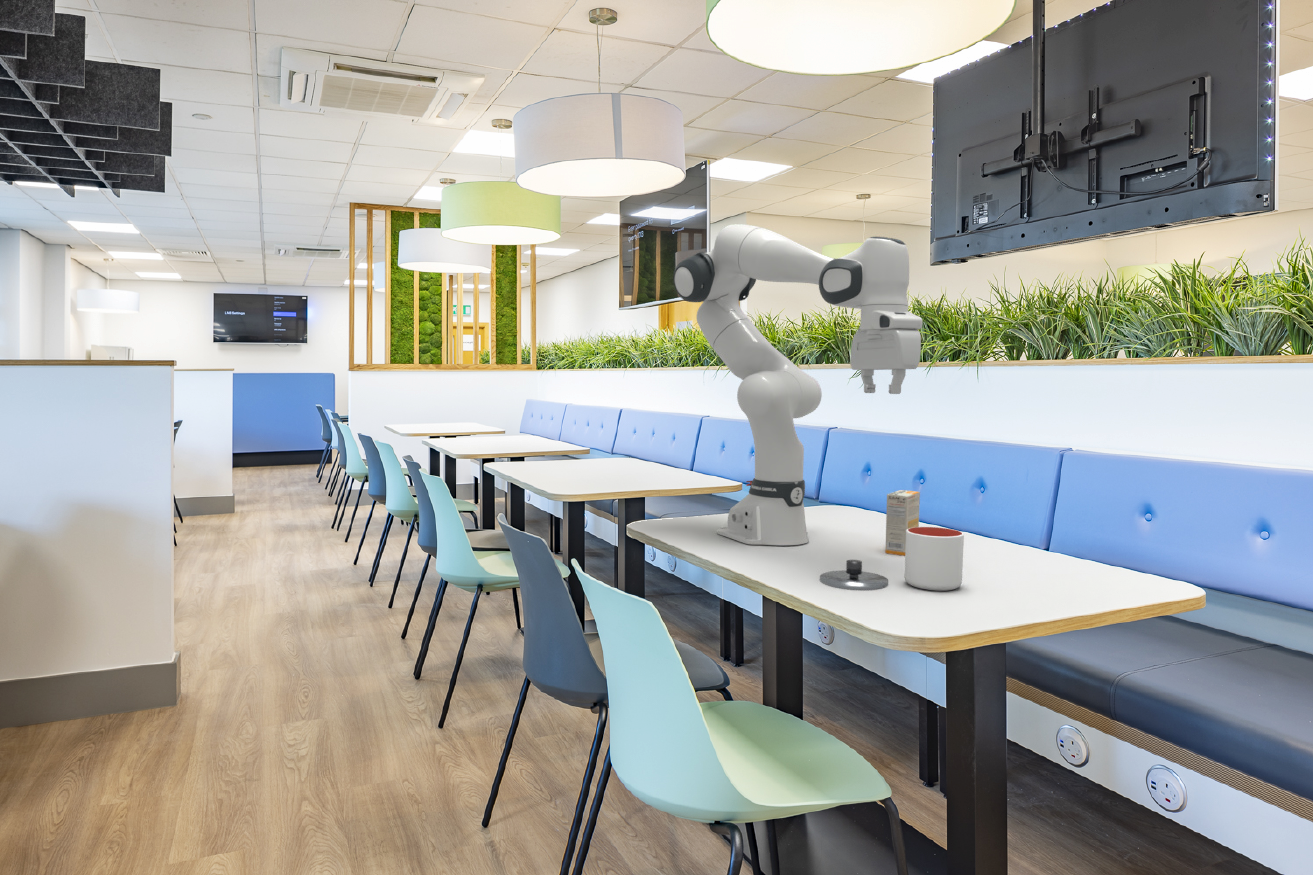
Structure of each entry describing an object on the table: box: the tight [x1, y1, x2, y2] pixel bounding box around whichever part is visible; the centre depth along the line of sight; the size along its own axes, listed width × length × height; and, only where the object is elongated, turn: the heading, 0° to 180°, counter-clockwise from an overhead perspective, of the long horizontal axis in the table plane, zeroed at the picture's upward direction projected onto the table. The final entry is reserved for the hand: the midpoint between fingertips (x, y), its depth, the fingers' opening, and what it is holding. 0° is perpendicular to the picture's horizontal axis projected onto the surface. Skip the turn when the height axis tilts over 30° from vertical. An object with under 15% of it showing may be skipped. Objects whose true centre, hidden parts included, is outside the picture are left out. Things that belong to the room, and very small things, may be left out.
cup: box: [904, 526, 965, 592], centre depth 153 cm, size 10×10×10 cm
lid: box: [819, 559, 889, 591], centre depth 155 cm, size 12×12×4 cm
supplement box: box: [885, 489, 921, 557], centre depth 183 cm, size 8×5×13 cm, turn 144°
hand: (881, 393), depth 163 cm, fingers open, 8 cm apart
